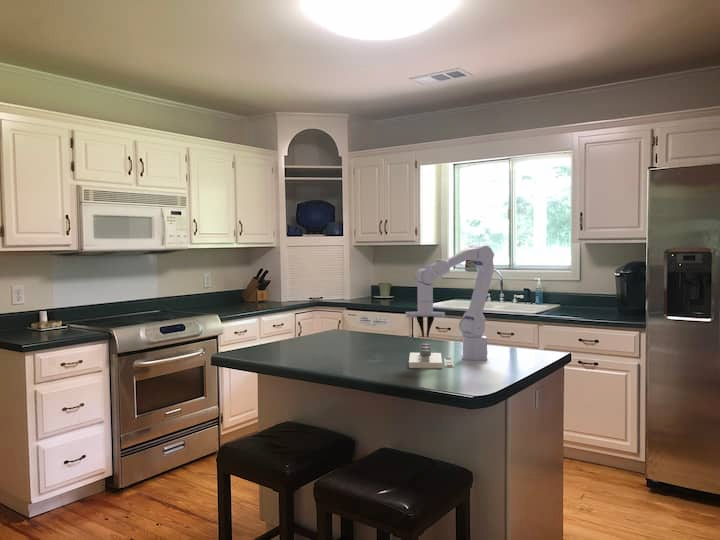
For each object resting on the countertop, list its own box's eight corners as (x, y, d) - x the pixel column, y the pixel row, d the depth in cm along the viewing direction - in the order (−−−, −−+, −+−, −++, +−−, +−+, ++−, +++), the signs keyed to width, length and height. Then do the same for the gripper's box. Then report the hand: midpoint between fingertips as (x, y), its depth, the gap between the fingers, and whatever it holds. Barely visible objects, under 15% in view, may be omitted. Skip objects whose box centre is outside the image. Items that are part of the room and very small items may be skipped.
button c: (430, 360, 215) (430, 349, 215) (430, 362, 211) (430, 351, 211) (420, 360, 216) (419, 349, 215) (419, 362, 212) (419, 351, 211)
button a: (430, 354, 227) (430, 343, 227) (430, 356, 223) (430, 345, 223) (420, 353, 228) (420, 343, 227) (420, 356, 224) (420, 345, 223)
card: (452, 359, 225) (452, 357, 225) (454, 367, 211) (454, 365, 211) (443, 359, 226) (443, 357, 226) (445, 367, 212) (445, 365, 212)
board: (441, 358, 228) (440, 352, 228) (442, 368, 210) (442, 362, 210) (410, 357, 229) (410, 352, 229) (408, 367, 211) (408, 362, 211)
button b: (430, 357, 221) (430, 346, 221) (430, 359, 217) (430, 348, 217) (420, 357, 222) (420, 346, 221) (420, 359, 218) (420, 348, 217)
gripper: (444, 299, 221) (444, 334, 222) (406, 299, 223) (406, 334, 224) (445, 301, 214) (445, 338, 215) (405, 301, 216) (405, 337, 217)
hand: (425, 336), depth 219 cm, fingers closed
